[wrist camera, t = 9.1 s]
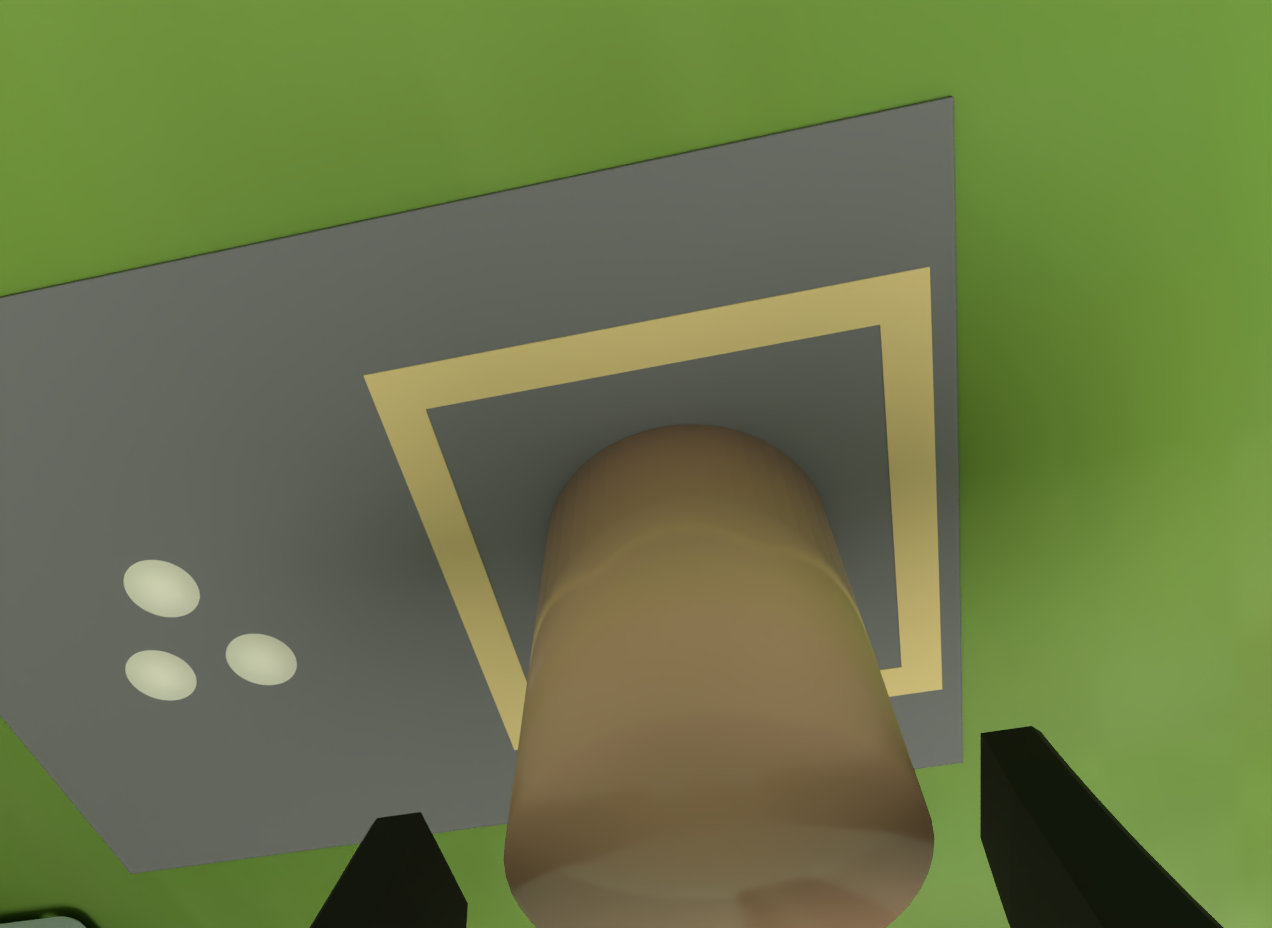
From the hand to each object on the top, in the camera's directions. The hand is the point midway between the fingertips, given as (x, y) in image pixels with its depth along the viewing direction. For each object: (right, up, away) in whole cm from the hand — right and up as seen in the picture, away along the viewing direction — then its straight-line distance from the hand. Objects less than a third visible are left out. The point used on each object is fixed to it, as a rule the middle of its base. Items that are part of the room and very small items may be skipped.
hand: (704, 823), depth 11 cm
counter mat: (-5, +2, +6) cm, 8 cm away
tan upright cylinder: (0, +3, +5) cm, 6 cm away
